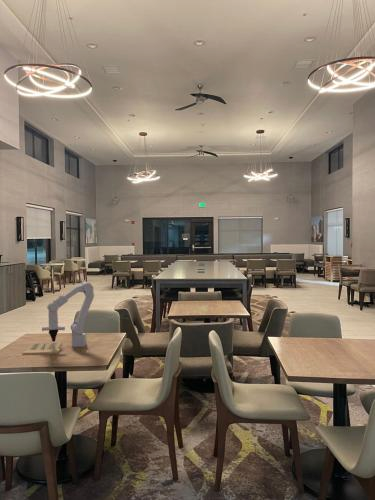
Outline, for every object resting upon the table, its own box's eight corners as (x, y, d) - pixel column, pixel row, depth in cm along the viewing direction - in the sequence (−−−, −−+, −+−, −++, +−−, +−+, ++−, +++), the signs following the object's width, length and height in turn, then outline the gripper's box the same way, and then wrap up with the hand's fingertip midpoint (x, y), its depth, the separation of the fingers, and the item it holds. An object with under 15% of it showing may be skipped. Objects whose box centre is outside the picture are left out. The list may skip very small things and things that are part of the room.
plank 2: (62, 344, 269) (61, 342, 269) (59, 350, 264) (59, 349, 263) (46, 344, 269) (46, 343, 268) (44, 351, 264) (44, 349, 263)
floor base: (63, 348, 271) (63, 346, 271) (57, 354, 257) (57, 352, 257) (30, 349, 271) (30, 346, 271) (22, 355, 256) (22, 353, 256)
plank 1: (45, 344, 269) (45, 343, 268) (42, 351, 264) (42, 349, 263) (30, 345, 269) (29, 343, 268) (27, 351, 264) (27, 350, 263)
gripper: (65, 319, 271) (66, 339, 272) (44, 319, 271) (44, 339, 272) (63, 321, 264) (63, 342, 265) (40, 322, 264) (41, 342, 265)
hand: (53, 341), depth 268 cm, fingers closed
